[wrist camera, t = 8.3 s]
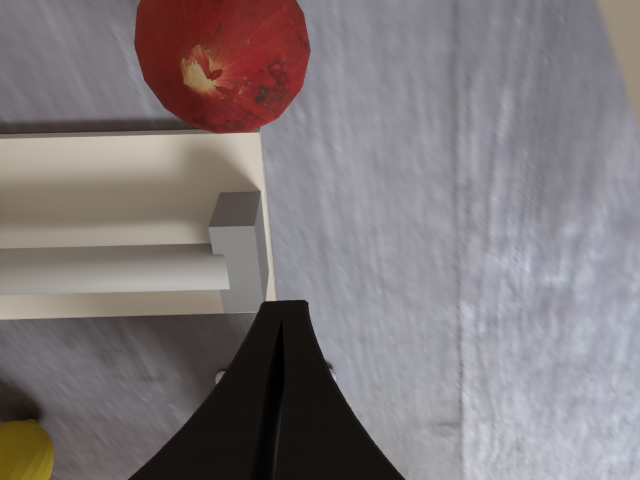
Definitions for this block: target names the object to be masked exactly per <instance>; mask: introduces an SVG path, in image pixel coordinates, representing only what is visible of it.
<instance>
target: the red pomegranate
mask: <svg viewBox="0 0 640 480" xmlns="http://www.w3.org/2000/svg"><path fill="white" fill-rule="evenodd" d="M134 44H135V50H136V53H137V56H138V60H139V63H140V67H141V70H142V73H143V77H144V80H145V82H146V83H147V84H148V86H149V87H150V89H151V90H152V91H153V93H154V94H155V95H156V97H157V98H158V100H159V101H160V102H161V104H162V105H163V106H164V108H166V109H167V110H168V111H170V112H171V113H173V114H174V115H175V116H177V117H178V118H180V119H181V120H183V121H184V122H185V123H187V124H188V125H190V126H193V127H196V128H199V129H203V130H206V131H209V132H213V133H216V134H227V133H247V132H251V131H253V130H255V129H257V128H259V127H261V126H263V125H265V124H267V123H269V122H271V121H273V120H275V119H277V118H279V117H280V115H281V114H282V113H283V112H284V110H285V109H286V108H287V107H288V105H289V104H290V103H291V101H292V100H293V99H294V98H295V96H296V95H297V94H298V93H299V91H300V90H301V88H302V86H303V82H304V78H305V73H306V69H307V64H308V60H309V55H310V51H311V50H310V45H309V40H308V34H307V29H306V24H305V18H304V13H303V12H302V10H301V8H300V6H299V5H298V3H297V1H296V0H141V1H140V3H139V5H138V7H137V17H136V29H135V40H134Z"/></svg>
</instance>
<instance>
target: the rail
mask: <svg viewBox="0 0 640 480" xmlns="http://www.w3.org/2000/svg"><path fill="white" fill-rule="evenodd" d="M264 301H277V298H276V287H275V276H274V266H273V255H272V245H271V234H270V223H269V213H268V202H267V192H266V181H265V170H264V160H263V149H262V138H261V128H257V129H255V130H253V131H251V132H247V133H227V134H216V133H213V132H209V131H206V130H203V129H198V130H157V131H116V132H75V133H34V134H0V319H37V318H74V317H111V316H148V315H185V314H222V313H258V311H259V308H260V305H261V303H263V302H264Z"/></svg>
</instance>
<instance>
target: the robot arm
mask: <svg viewBox="0 0 640 480" xmlns="http://www.w3.org/2000/svg"><path fill="white" fill-rule="evenodd" d="M215 381H216V386H215V387H214V389H213V390H212V392H211V393H210V394H209V395H208V397H207V398H206V399H205V401H204V402H203V403H202V404H201V406H200V407H199V408H198V409H197V410H196V412H195V413H194V414H193V415H192V416H191V418H190V419H189V420H188V421H187V422H186V423H185V424H184V426H183V427H182V428H181V429H180V430H179V431H178V432H177V433H176V434H175V435H174V436H173V437H172V438H171V439H170V440H169V441H168V442H167V443H166V444H165V445H164V446H163V447H162V448H161V449H160V450H159V451H158V452H157V453H156V455H155V456H153V457H152V458H151V459H150V460H149V461H148V462H147V463H146V464H145V465H144V466H143V467H141V468H140V469H139V470H138V471H137V472H136V473H135V474H134V475H132V476H131V477H130V478H129V479H128V480H405V479H404V477H403V476H402V475H401V474H400V473H399V472H398V471H397V470H396V468H395V467H394V466H393V465H392V464H391V463H390V461H389V460H388V459H387V458H386V457H385V455H384V454H383V453H382V452H381V450H380V449H379V448H378V446H377V445H376V444H375V443H374V441H373V440H372V439H371V437H370V436H369V434H368V433H367V432H366V430H365V429H364V427H363V426H362V424H361V423H360V422H359V420H358V419H357V417H356V416H355V414H354V413H353V411H352V410H351V408H350V406H349V405H348V403H347V402H346V400H345V398H344V396H343V395H342V393H341V391H340V389H339V388H338V386H337V384H336V373H335V371H334V370H332V369H329V368H328V366H327V364H326V361H325V359H324V357H323V354H322V352H321V349H320V347H319V344H318V342H317V339H316V336H315V333H314V330H313V327H312V323H311V319H310V315H309V307H308V302H306V301H305V300H286V301H264V302H263V303H261V305H260V308H259V311H258V313H257V315H256V318H255V320H254V322H253V324H252V326H251V328H250V330H249V332H248V334H247V336H246V338H245V340H244V342H243V343H242V345H241V347H240V349H239V351H238V352H237V354H236V356H235V357H234V359H233V360H232V362H231V364H230V365H229V367H228V368H227V370H226V371H223V372H219V373H217V375H216V378H215Z"/></svg>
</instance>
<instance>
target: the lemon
mask: <svg viewBox="0 0 640 480" xmlns="http://www.w3.org/2000/svg"><path fill="white" fill-rule="evenodd" d="M53 463H54V447H53V443H52V440H51V438H50V436H49V435H48V433H47V432H46V431H45V430H44V429H43V428H41V427H40V426H39V425H38V423H37V421H36V420H35V419H27V420H24V421H9V422H5V423H1V424H0V480H49V477H50V475H51V471H52V468H53Z"/></svg>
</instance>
